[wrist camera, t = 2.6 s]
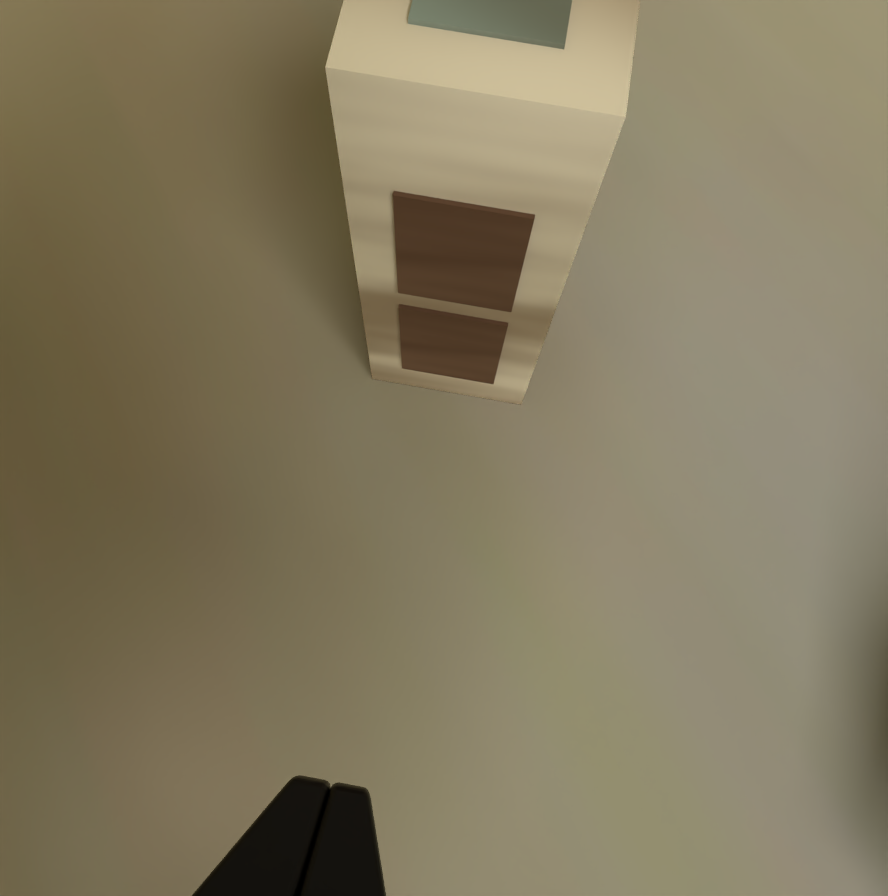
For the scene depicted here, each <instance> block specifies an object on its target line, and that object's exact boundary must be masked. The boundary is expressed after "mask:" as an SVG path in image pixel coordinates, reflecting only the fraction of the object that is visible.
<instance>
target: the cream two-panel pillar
mask: <svg viewBox="0 0 888 896" xmlns="http://www.w3.org/2000/svg"><path fill="white" fill-rule="evenodd" d="M639 6H640V0H344V1H343V5H342V8H341V12H340V15H339V19H338V23H337V26H336V30H335V33H334V37H333V41H332V44H331V48H330V52H329V55H328V59H327V62H326V66H325V69H326V76H327V82H328V89H329V96H330V102H331V109H332V116H333V122H334V129H335V136H336V142H337V149H338V155H339V162H340V169H341V175H342V182H343V189H344V195H345V202H346V209H347V215H348V222H349V228H350V235H351V242H352V248H353V255H354V262H355V268H356V275H357V281H358V288H359V295H360V301H361V308H362V315H363V321H364V328H365V335H366V341H367V348H368V354H369V361H370V368H371V374H372V379H376V380H382V381H388V382H394V383H399V384H405V385H411V386H417V387H422V388H428V389H434V390H440V391H445V392H451V393H457V394H462V395H468V396H474V397H480V398H485V399H491V400H497V401H503V402H508V403H514V404H520V405H521V404H522V401H523V398H524V395H525V393H526V390H527V387H528V384H529V382H530V379H531V376H532V373H533V371H534V368H535V365H536V362H537V360H538V357H539V354H540V351H541V349H542V346H543V343H544V340H545V338H546V335H547V332H548V329H549V327H550V324H551V321H552V318H553V316H554V313H555V310H556V307H557V305H558V302H559V299H560V296H561V294H562V291H563V288H564V285H565V283H566V280H567V277H568V274H569V272H570V269H571V266H572V263H573V261H574V258H575V255H576V252H577V250H578V247H579V244H580V241H581V239H582V236H583V233H584V230H585V228H586V225H587V222H588V219H589V217H590V214H591V211H592V208H593V206H594V203H595V200H596V197H597V195H598V192H599V189H600V186H601V184H602V181H603V178H604V175H605V173H606V170H607V167H608V164H609V162H610V159H611V156H612V153H613V151H614V148H615V145H616V142H617V140H618V137H619V134H620V131H621V129H622V126H623V123H624V120H625V118H626V111H627V103H628V95H629V86H630V78H631V70H632V62H633V54H634V46H635V38H636V30H637V22H638V14H639Z"/></svg>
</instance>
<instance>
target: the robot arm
mask: <svg viewBox="0 0 888 896" xmlns="http://www.w3.org/2000/svg"><path fill="white" fill-rule="evenodd" d="M192 896H386V892H385V886H384V880H383V873H382V867H381V861H380V855H379V848H378V842H377V836H376V829H375V823H374V817H373V810H372V804H371V798H370V794H369V792H368V790H367V789H366V788H364V787H360V786H355V785H349V784H344V783H335V784H333V785H332V786H331V787H330V783H329V782H328V781H326V780H322V779H317V778H311V777H306V776H295V777H293V778H292V779H291V780H290V781H289V782H288V783H287V784H286V785H285V786H284V787H283V788H282V790H281V791H280V792H279V793H278V794H277V796H276V797H275V798H274V799H273V800H272V801H271V803H270V804H269V805H268V806H267V807H266V809H265V810H264V811H263V812H262V813H261V814H260V816H259V817H258V818H257V819H256V820H255V822H254V823H253V824H252V825H251V826H250V827H249V829H248V830H247V831H246V832H245V833H244V835H243V836H242V837H241V838H240V839H239V840H238V842H237V843H236V844H235V845H234V846H233V848H232V849H231V850H230V851H229V852H228V853H227V855H226V856H225V857H224V858H223V859H222V861H221V862H220V863H219V864H218V865H217V866H216V868H215V869H214V870H213V871H212V872H211V874H210V875H209V876H208V877H207V878H206V879H205V881H204V882H203V883H202V884H201V885H200V887H199V888H198V889H197V890H196V891H195V892H194V894H193V895H192Z"/></svg>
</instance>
